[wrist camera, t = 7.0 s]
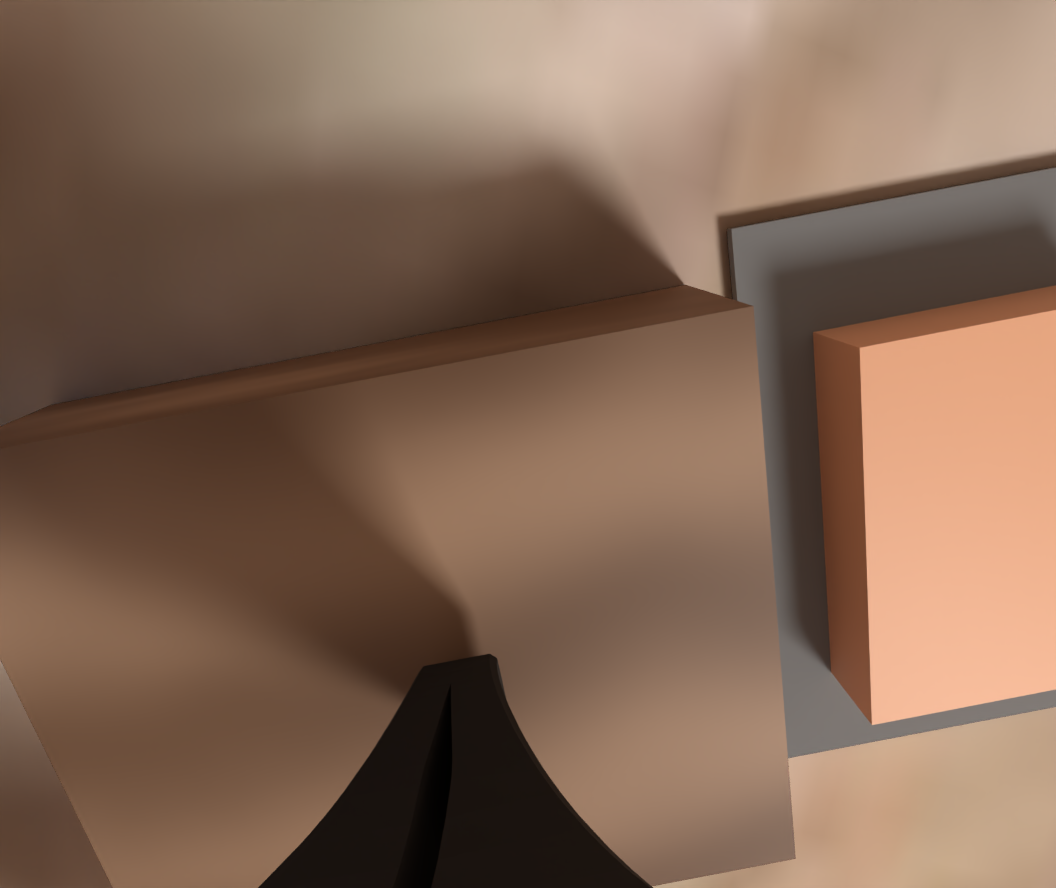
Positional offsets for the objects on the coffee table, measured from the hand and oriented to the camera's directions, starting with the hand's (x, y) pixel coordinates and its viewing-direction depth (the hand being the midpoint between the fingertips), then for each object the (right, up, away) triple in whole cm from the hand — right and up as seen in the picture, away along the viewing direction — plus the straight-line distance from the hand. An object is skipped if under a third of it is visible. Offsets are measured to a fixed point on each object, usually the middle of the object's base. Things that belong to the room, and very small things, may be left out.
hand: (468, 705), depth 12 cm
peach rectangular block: (+11, +3, +2) cm, 12 cm away
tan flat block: (-1, +1, +4) cm, 5 cm away
